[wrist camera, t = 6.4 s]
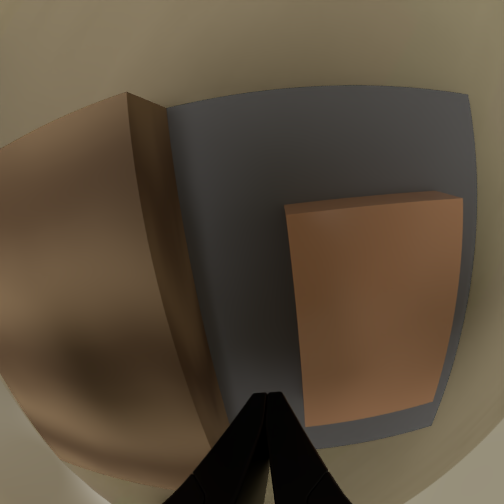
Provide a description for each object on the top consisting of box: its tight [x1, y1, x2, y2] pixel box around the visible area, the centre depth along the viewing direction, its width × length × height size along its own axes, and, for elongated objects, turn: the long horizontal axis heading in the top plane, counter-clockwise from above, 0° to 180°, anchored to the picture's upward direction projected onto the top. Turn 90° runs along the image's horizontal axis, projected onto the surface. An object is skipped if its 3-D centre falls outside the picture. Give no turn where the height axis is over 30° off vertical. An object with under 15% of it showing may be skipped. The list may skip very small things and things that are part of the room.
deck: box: [0, 92, 230, 490], centre depth 11 cm, size 18×12×4 cm, turn 7°
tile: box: [284, 191, 463, 427], centre depth 10 cm, size 9×6×2 cm, turn 8°
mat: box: [166, 85, 477, 449], centre depth 12 cm, size 18×12×1 cm, turn 7°
